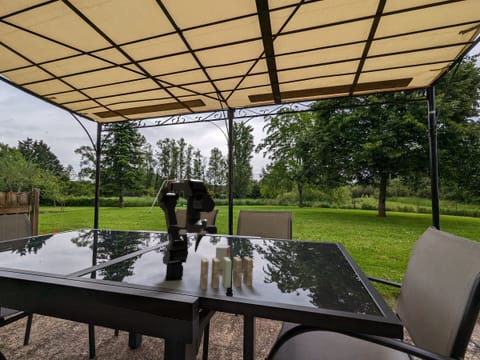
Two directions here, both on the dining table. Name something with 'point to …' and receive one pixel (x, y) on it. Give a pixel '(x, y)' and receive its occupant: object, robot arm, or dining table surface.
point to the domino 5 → (247, 271)
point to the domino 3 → (226, 272)
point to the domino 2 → (215, 272)
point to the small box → (222, 253)
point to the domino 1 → (204, 273)
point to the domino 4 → (237, 271)
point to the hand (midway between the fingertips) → (191, 252)
